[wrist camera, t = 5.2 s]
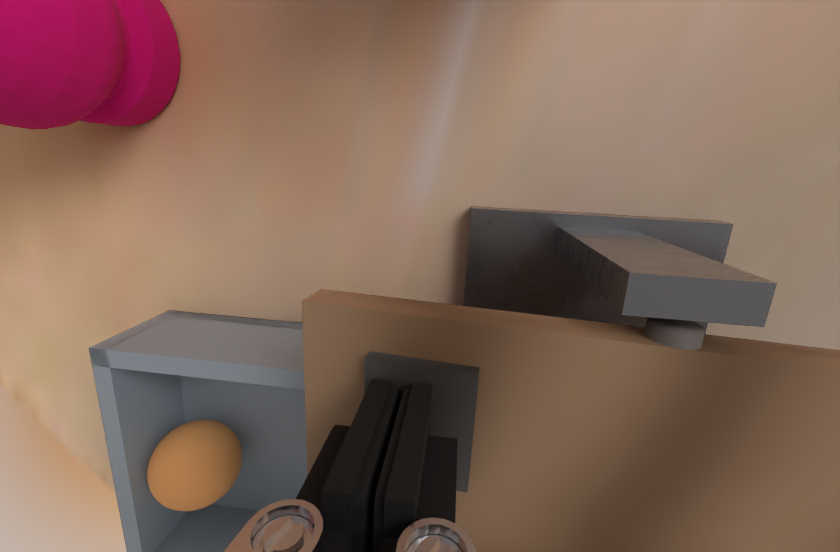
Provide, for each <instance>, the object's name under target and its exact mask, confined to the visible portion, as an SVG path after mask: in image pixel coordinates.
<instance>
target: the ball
mask: <svg viewBox="0 0 840 552" xmlns="http://www.w3.org/2000/svg"><path fill="white" fill-rule="evenodd" d="M241 464H242V447H241V444H240V441H239V439H238V437H237V435H236V434H235V433H234V431H233V430H232V429H230V428H229V427H228V426H226V425H225V424H223V423H221V422H218V421H214V420H195V421H191V422H188V423H185V424H183V425H180V426H179V427H177V428H175V429H174V430H172V431H171V432H169V433H168V434H167V435H166V436H165V437H164V438H163V439H162V440H161V441H160V442H159V444H158V445H157V447H156V448H155V450H154V451H153V454H152V456H151V458H150V461H149V464H148V470H147V481H148V485H149V489H150V491H151V493H152V495H153V496H154V498H155V499H156V500H157V501H158V502H159V503H161V504H162V505H163V506H165V507H167V508H169V509H172V510H177V511H194V510H198V509H201V508H204V507H207V506H209V505H211V504H212V503H214V502H216V501H217V500H218V499H220V498H221V497H222V496H223V495H224V494H225V493H226V492H227V491H228V490H229V489H230V488H231V487H232V485H233V484H234V482H235V480H236V478H237V476H238V474H239V471H240V468H241Z"/></svg>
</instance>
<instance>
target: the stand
mask: <svg viewBox="0 0 840 552" xmlns="http://www.w3.org/2000/svg"><path fill="white" fill-rule="evenodd" d="M732 227H733V224H730V223H725V222H721V221H711V220H694V219H677V218H660V217H643V216H627V215H610V214H593V213H576V212H559V211H542V210H526V209H509V208H492V207H475V206H472V208H471V220H470V233H469V245H468V257H467V269H466V282H465V294H464V306H468V307H476V308H485V309H493V310H502V311H510V312H518V313H527V314H535V315H544V316H552V317H561V318H569V319H578V320H586V321H595V322H603V323H612V324H620V325H629V326H637V327H645V326H646V321H647V317H651V318H663V319H675V320H687V321H693V322H696V323H698V324H700V325H702V326H703V327H704V328H705V332H706V328H707V324H708V322H710V323H722V324H734V325H746V326H758V327H764V325H765V322H766V319H767V315H768V312H769V308H770V305H771V302H772V298H773V295H774V292H775V288H776V285H777V283H774V282H771V281H769V280H766V279H763V278H761V277H758V276H755V275H753V274H750V273H747V272H745V271H742V270H739V269H736V268H734V267H731V266H728V265H726V264H723V262H724V258H725V254H726V250H727V246H728V242H729V238H730V235H731V231H732Z"/></svg>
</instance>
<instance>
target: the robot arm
mask: <svg viewBox="0 0 840 552" xmlns="http://www.w3.org/2000/svg"><path fill="white" fill-rule="evenodd" d="M399 393H400V389H399V387H397V386H393V382H392V381H391V380H381V379H372V380H371V382H370V384H369V386H368V388H367V391H366V393H365V395H364V397H363V400H362V402H361V404H360V406H359V408H358V411H357V413H356V415H355V417H354V419H353V422H352V424H351V426H345V425H334V427H333V428H332V430H331V432H330V433H329V435H328V437H327V439H326V441H325V443H324V445H323V447H322V449H321V451H320V453H319V455H318V457H317V458H316V460H315V462H314V464H313V466H312V468H311V470H310V472H309V474H308V476H307V478H306V480H305V482H304V484H303V485H302V487H301V489H300V491H299V493H298V495H297V497H296V499H287V500H280V501H278V502H275V503H272V504H269V505H268V506H266V507H264V508H263V509H261V510H259V511H258V512H257V513H256V514H255V515H254V516H253V517H252V518H251V519H250V520H249V521H248V522H247V524H246V525H245V526H244V527H243V528H242V530H241V531H240V532H239V533H238V535H237V536H236V537H235V538H234V540H233V541H232V542H231V543H230V545H229V546H228V547H227V548H226V549H225V551H224V552H476V549H475V547H474V544H473V541H472V539H471V538H470V537H469V535H468V534H467V533H466V531H465V530H463V529H462V528H461V527H459V526H458V525H457V524H455V515H456V478H457V438H449V437H441V436H432V435H430V425H431V410H432V395H433V385H430V384H420V383H413V385H412V388H406V387H405V389H404V392H403V396H402V399H401V403H400V406H399Z"/></svg>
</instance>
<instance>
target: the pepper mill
mask: <svg viewBox="0 0 840 552" xmlns="http://www.w3.org/2000/svg"><path fill="white" fill-rule="evenodd" d="M179 68H180V53H179V47H178V41H177V36H176V32H175V30H174V27H173V25H172V22H171V20H170V17H169V15H168V13H167V11H166V9H165V8H164V6H163V4H162V3H161V2H160V0H0V124H3V125H9V126H14V127H20V128H28V129H48V128H54V127H60V126H66V125H68V124H71V123H73V122H76V121H78V120H81V121H85V122H93V123H100V124H108V125H115V126H132V125H137V124H142V123H144V122H146V121H148V120H151V119H152V118H153V117H155V116H156V115H158V114H159V113H160V112H161V111H162V110H163V109H164V107H165V106H166V105H167V103H168V102H169V101H170V99H171V98H172V97H173V94H174V91H175V88H176V85H177V82H178V79H179Z"/></svg>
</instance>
